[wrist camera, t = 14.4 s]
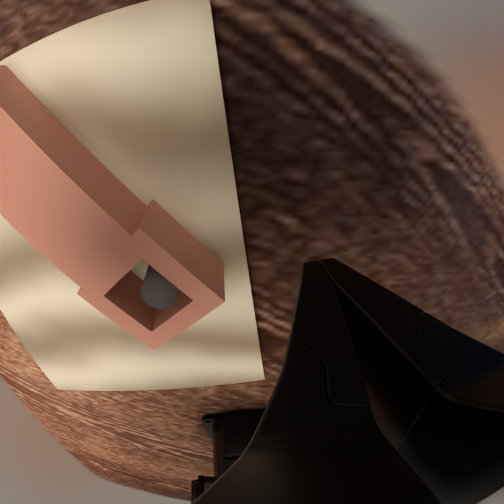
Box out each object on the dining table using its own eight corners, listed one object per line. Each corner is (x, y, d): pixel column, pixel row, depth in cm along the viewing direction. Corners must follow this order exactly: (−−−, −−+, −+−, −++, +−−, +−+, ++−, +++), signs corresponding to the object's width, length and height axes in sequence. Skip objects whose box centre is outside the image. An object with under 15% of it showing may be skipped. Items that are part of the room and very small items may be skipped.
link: (223, 264, 17) (225, 301, 14) (161, 312, 18) (154, 350, 16) (10, 56, 10) (-26, 59, 7) (-32, 132, 11) (-66, 148, 8)
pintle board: (262, 367, 23) (270, 415, 20) (61, 378, 23) (48, 418, 19) (209, -5, 11) (204, -35, 7) (-62, 109, 10) (-107, 128, 7)
